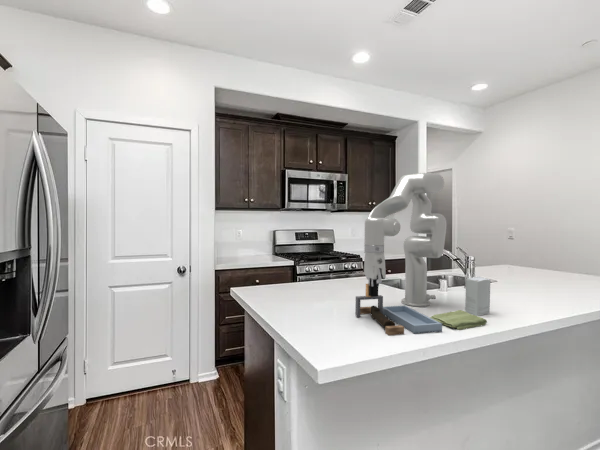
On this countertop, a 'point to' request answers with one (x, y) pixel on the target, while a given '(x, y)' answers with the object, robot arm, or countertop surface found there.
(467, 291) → the skincare box
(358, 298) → the gray arch frame
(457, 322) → the washcloth
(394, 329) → the cradle
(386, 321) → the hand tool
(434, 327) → the tray
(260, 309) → the countertop surface
